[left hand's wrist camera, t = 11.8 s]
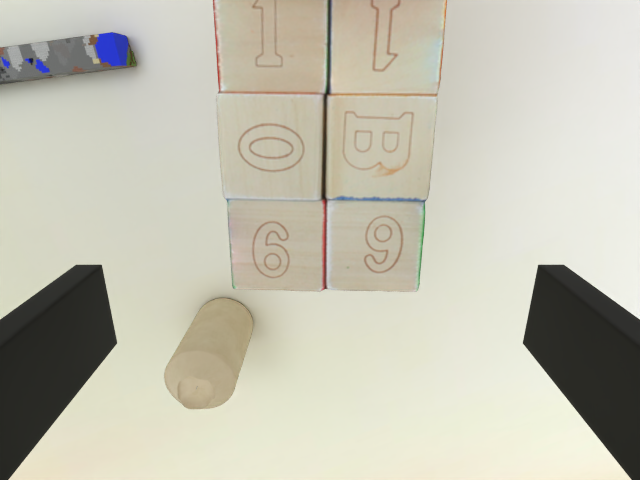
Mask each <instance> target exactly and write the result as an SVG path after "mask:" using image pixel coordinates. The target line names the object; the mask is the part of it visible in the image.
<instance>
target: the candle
mask: <svg viewBox="0 0 640 480" xmlns="http://www.w3.org/2000/svg"><path fill="white" fill-rule="evenodd" d="M252 330H253V321H252V317H251V315H250V313H249V311H248V310H247V309H246V308H245V307H244V306H243V305H242V304H240V303H239V302H237V301H235V300H232V299H227V298H218V299H214V300H211V301H209V302H208V303H206V304H205V305H204V306H203V307H202V308H201V309H200V310H199V312H198V313H197V315H196V317H195V318H194V320H193V322H192V324H191V325H190V327H189V329H188V330H187V332H186V334H185V336H184V337H183V339H182V341H181V342H180V344H179V346H178V348H177V349H176V351H175V353H174V354H173V356H172V358H171V360H170V361H169V363H168V365H167V367H166V369H165V374H164V379H165V384H166V386H167V389H168V390H169V392H170V393H171V394H172V396H173V397H174V398H175V399H176V400H178V401H179V402H180V403H182V404H183V405H184V406H185V407H186V408H188V409H209V408H214V407H217V406H220V405H222V404H223V403H225V402H226V401H227V400H228V399H229V398H230V397H231V395H232V394H233V392H234V389H235V385H236V382H237V379H238V376H239V373H240V370H241V366H242V363H243V360H244V357H245V354H246V350H247V347H248V344H249V341H250V338H251V334H252Z"/></svg>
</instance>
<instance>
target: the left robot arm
mask: <svg viewBox="0 0 640 480" xmlns="http://www.w3.org/2000/svg"><path fill="white" fill-rule="evenodd" d="M116 344H117V340H116V335H115V330H114V325H113V320H112V315H111V310H110V305H109V300H108V294H107V289H106V284H105V279H104V274H103V269H102V265H75V266H74V267H73V268H71V269H70V270H68V271H67V272H66V273H64V274H63V275H61V276H60V277H59V278H57V279H56V280H55V281H53V282H52V283H50V284H49V285H48V286H46V287H45V288H43V289H42V290H41V291H39V292H38V293H37V294H35V295H34V296H32V297H31V298H30V299H28V300H27V301H25V302H24V303H23V304H21V305H20V306H19V307H17V308H16V309H14V310H13V311H12V312H10V313H9V314H8V315H6V316H5V317H3V318H2V319H1V320H0V480H8V479H9V478H10V477H11V476H12V474H13V473H14V472H15V471H16V469H17V468H18V467H19V466H20V464H21V463H22V462H23V461H24V459H25V458H26V457H27V456H28V454H29V453H30V452H31V451H32V449H33V448H34V447H35V446H36V444H37V443H38V442H39V441H40V439H41V438H42V437H43V435H44V434H45V433H46V432H47V430H48V429H49V428H50V427H51V425H52V424H53V423H54V422H55V420H56V419H57V418H58V417H59V415H60V414H61V413H62V412H63V410H64V409H65V408H66V407H67V405H68V404H69V403H70V402H71V400H72V399H73V398H74V397H75V395H76V394H77V393H78V392H79V390H80V389H81V388H82V387H83V385H84V384H85V383H86V382H87V380H88V379H89V378H90V377H91V375H92V374H93V373H94V372H95V370H96V369H97V368H98V367H99V365H100V364H101V363H102V361H103V360H104V359H105V358H106V356H107V355H108V354H109V353H110V351H111V350H112V349H113V348H114V346H115V345H116ZM523 344H524V345H525V346H526V348H527V349H528V350H529V351H530V353H531V354H532V355H533V356H534V358H535V359H536V360H537V361H538V363H539V364H540V365H541V367H542V368H543V369H544V370H545V372H546V373H547V374H548V375H549V377H550V378H551V379H552V380H553V382H554V383H555V384H556V385H557V387H558V388H559V389H560V390H561V392H562V393H563V394H564V395H565V397H566V398H567V399H568V400H569V402H570V403H571V404H572V405H573V407H574V408H575V409H576V410H577V412H578V413H579V414H580V415H581V417H582V418H583V419H584V420H585V422H586V423H587V424H588V425H589V427H590V428H591V429H592V430H593V432H594V433H595V434H596V435H597V437H598V438H599V439H600V441H601V442H602V443H603V444H604V446H605V447H606V448H607V449H608V451H609V452H610V453H611V454H612V456H613V457H614V458H615V459H616V461H617V462H618V463H619V464H620V466H621V467H622V468H623V469H624V471H625V472H626V473H627V474H628V476H629V477H630V478H631V479H632V480H640V320H639V319H638V318H637V317H635V316H634V315H632V314H631V313H630V312H628V311H627V310H626V309H624V308H623V307H621V306H620V305H619V304H617V303H616V302H615V301H613V300H612V299H610V298H609V297H608V296H606V295H605V294H603V293H602V292H601V291H599V290H598V289H597V288H595V287H594V286H592V285H591V284H590V283H588V282H587V281H585V280H584V279H583V278H581V277H580V276H579V275H577V274H576V273H574V272H573V271H572V270H570V269H569V268H567V267H566V266H565V265H538V269H537V274H536V279H535V284H534V289H533V294H532V299H531V305H530V310H529V315H528V320H527V325H526V330H525V335H524V340H523Z"/></svg>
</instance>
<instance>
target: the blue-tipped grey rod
mask: <svg viewBox="0 0 640 480" xmlns="http://www.w3.org/2000/svg"><path fill="white" fill-rule="evenodd" d="M134 66H136V61H135V59H134V55H133V51H130V47H129V44H128V40H127V37H126V36H125V35H121V34H117V33H113V32H111V33H104V34H97V35H89V36H82V37H75V38H68V39H60V40H53V41H46V42H39V43H31V44H24V45H17V46H9V47H2V48H0V84H5V83H13V82H21V81H28V80H36V79H43V78H51V77H58V76H66V75H74V74H81V73H89V72H96V71H104V70H111V69H119V68H127V67H134Z"/></svg>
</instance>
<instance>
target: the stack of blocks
mask: <svg viewBox="0 0 640 480" xmlns="http://www.w3.org/2000/svg"><path fill="white" fill-rule="evenodd" d="M446 5H447V0H213V7H214V23H215V37H216V53H217V69H218V83H219V92H218V94H217V117H218V135H219V151H220V164H221V177H222V190H223V196H224V198H225V199H226V200H227V202H228V227H229V241H230V257H231V273H232V286H233V288H234V289H250V290H291V291H322V290H324V289H331V290H350V291H400V292H416V291H417V290H418V287H419V281H420V268H421V257H422V245H423V236H424V224H425V201H426V200H427V199H428V194H429V187H430V176H431V165H432V155H433V143H434V132H435V120H436V112H437V93H438V89H439V84H440V79H441V66H442V56H443V44H444V29H445V17H446Z"/></svg>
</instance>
